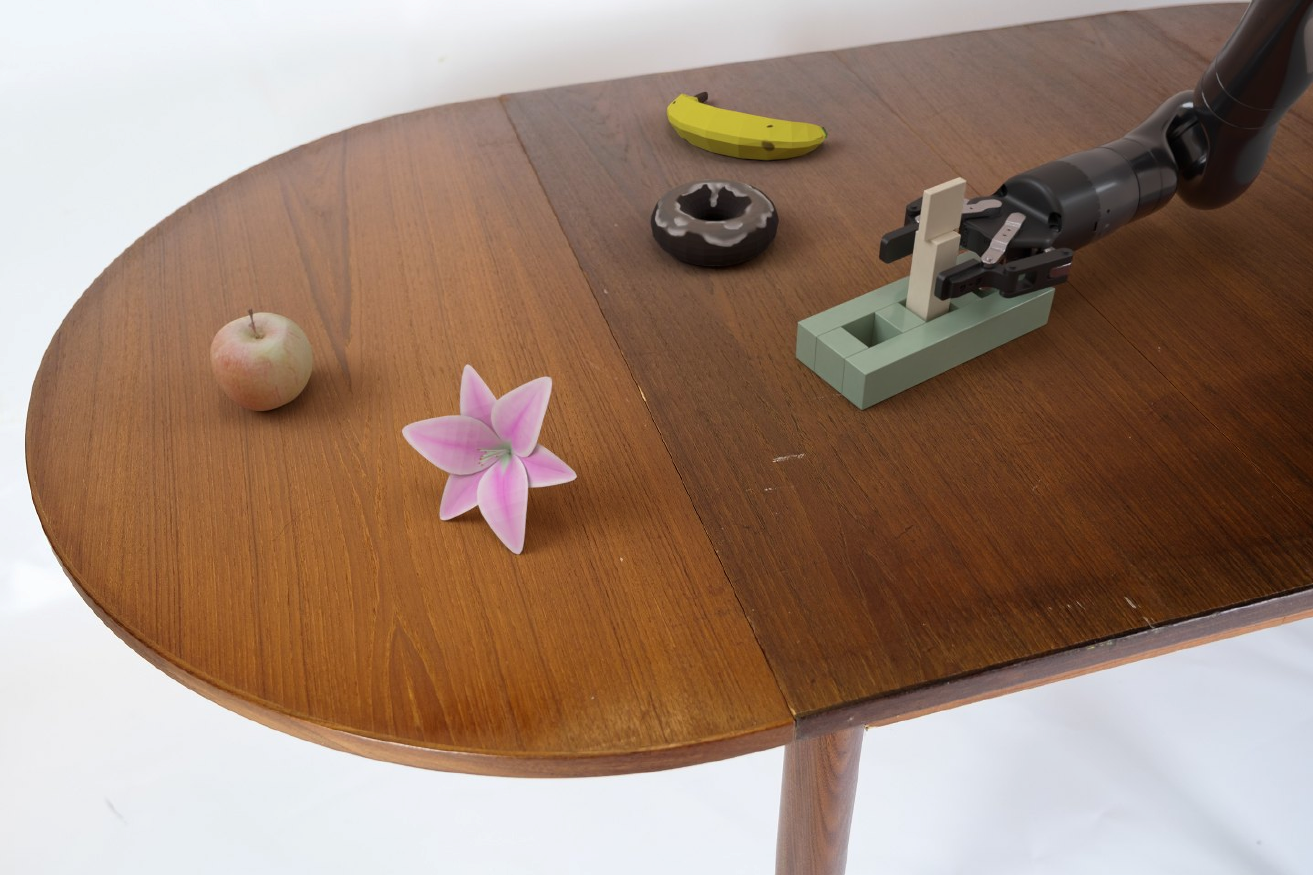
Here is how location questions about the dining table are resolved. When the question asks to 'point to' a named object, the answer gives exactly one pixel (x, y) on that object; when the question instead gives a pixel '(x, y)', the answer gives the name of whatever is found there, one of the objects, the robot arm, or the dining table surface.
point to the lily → (492, 453)
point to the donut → (714, 222)
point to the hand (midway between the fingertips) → (910, 269)
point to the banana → (741, 131)
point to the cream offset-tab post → (935, 247)
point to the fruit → (261, 360)
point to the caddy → (910, 337)
